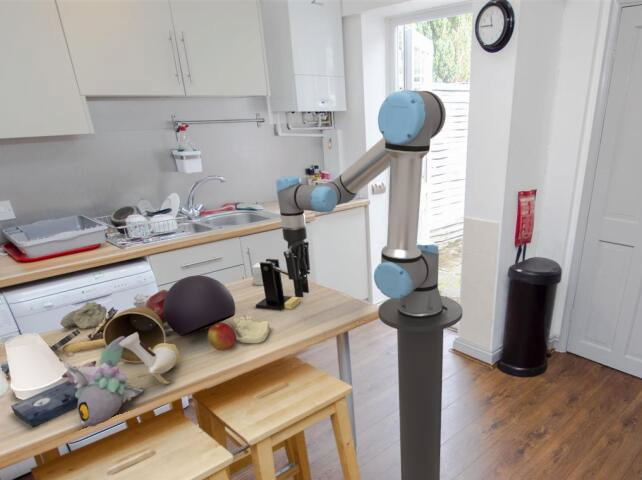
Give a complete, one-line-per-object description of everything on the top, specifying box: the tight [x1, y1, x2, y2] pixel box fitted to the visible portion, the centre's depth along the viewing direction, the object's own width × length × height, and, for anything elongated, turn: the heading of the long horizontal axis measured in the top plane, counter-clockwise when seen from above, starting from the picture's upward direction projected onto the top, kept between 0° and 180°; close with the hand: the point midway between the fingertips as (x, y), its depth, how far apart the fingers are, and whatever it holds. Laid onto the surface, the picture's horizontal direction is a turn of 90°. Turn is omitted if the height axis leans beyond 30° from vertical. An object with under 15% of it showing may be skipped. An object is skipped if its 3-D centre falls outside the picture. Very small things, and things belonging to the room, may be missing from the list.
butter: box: [284, 296, 301, 310], centre depth 161 cm, size 3×6×2 cm, turn 164°
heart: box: [145, 289, 169, 324], centre depth 150 cm, size 12×8×10 cm
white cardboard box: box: [251, 262, 263, 286], centre depth 181 cm, size 6×6×7 cm
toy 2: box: [59, 336, 145, 428], centre depth 105 cm, size 14×16×15 cm
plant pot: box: [102, 306, 167, 364], centre depth 131 cm, size 15×15×16 cm
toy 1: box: [48, 328, 82, 353], centre depth 130 cm, size 14×2×10 cm
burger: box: [86, 306, 119, 341], centre depth 141 cm, size 12×12×8 cm
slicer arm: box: [265, 261, 308, 284], centre depth 156 cm, size 15×4×4 cm, turn 75°
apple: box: [207, 322, 237, 351], centre depth 133 cm, size 8×8×8 cm
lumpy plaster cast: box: [233, 315, 271, 344], centre depth 139 cm, size 11×11×6 cm
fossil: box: [59, 301, 108, 330], centre depth 152 cm, size 14×10×10 cm
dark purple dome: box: [163, 275, 236, 337], centre depth 137 cm, size 20×20×16 cm
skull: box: [132, 293, 152, 307], centre depth 158 cm, size 7×15×6 cm, turn 85°
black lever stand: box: [255, 258, 293, 311], centre depth 159 cm, size 10×10×16 cm
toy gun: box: [119, 332, 181, 385], centre depth 119 cm, size 10×21×15 cm, turn 13°
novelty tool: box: [62, 322, 176, 358], centre depth 137 cm, size 8×3×30 cm
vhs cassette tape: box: [10, 382, 78, 428], centre depth 110 cm, size 18×3×10 cm
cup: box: [4, 332, 68, 401], centre depth 113 cm, size 12×12×14 cm
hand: (302, 294), depth 158 cm, fingers closed on slicer arm, 4 cm apart
